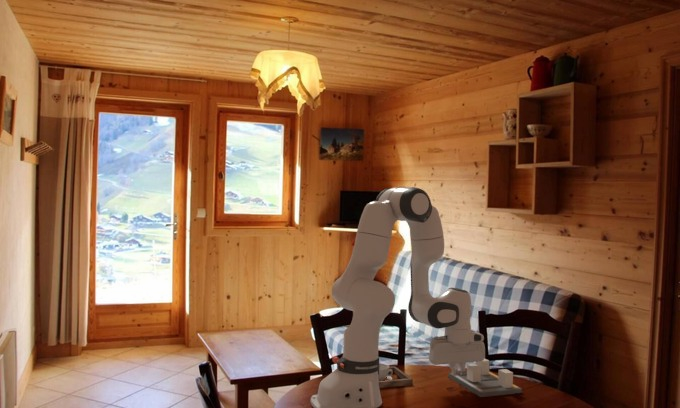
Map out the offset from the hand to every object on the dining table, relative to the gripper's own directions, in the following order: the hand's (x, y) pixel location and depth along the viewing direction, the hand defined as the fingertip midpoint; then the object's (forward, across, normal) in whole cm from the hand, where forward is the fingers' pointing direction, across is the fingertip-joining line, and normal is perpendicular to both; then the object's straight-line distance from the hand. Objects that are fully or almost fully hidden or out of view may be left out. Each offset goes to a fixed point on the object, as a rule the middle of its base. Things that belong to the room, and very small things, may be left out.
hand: (456, 375), depth 189 cm
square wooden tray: (+4, -21, +14) cm, 25 cm away
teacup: (+5, -23, +15) cm, 28 cm away
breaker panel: (+4, +11, 0) cm, 12 cm away
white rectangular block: (+2, +7, 0) cm, 7 cm away
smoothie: (+4, +10, +14) cm, 18 cm away
